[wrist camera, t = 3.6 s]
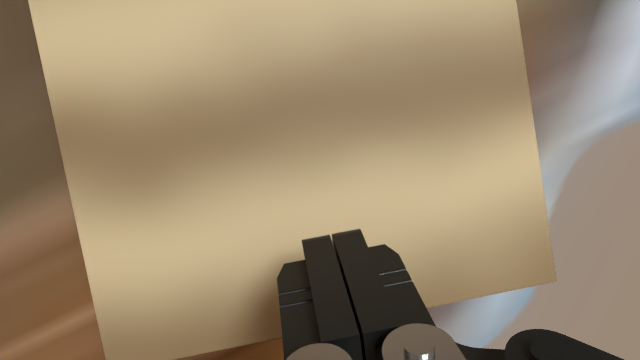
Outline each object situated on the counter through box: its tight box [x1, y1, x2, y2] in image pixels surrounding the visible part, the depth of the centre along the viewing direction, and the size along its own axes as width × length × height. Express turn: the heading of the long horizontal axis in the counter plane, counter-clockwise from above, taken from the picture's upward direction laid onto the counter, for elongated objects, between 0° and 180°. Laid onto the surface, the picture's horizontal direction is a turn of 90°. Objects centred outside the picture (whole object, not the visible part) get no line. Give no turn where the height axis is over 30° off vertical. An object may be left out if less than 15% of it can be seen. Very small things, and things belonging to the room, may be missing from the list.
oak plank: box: [28, 0, 557, 360], centre depth 16 cm, size 14×14×3 cm
